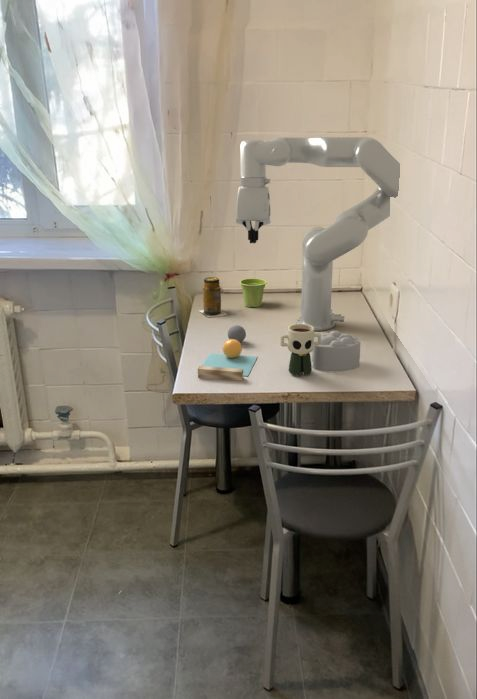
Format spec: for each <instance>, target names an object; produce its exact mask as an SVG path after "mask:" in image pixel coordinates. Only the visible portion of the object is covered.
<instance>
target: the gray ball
mask: <svg viewBox="0 0 477 699" xmlns="http://www.w3.org/2000/svg"><path fill="white" fill-rule="evenodd" d="M246 336H247V334H246V330H245V328H244V327H243V326H241V325H239V324H236V325H232V326H231V327H230V328H229V329H228V331H227V338H228V340H230V339H235V340H237V341H239V342H240V344H242V343H243V341H245V339H246Z"/></svg>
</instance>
